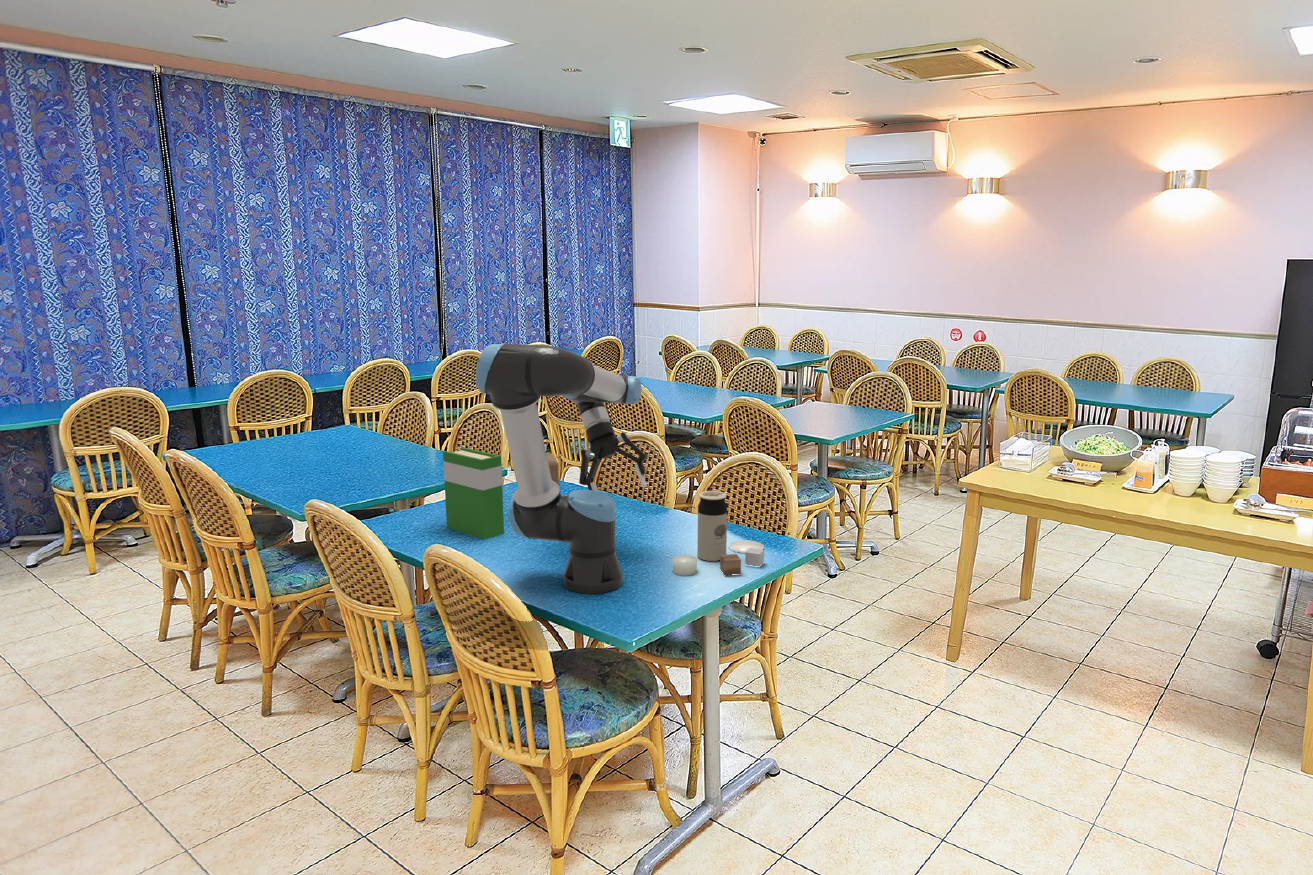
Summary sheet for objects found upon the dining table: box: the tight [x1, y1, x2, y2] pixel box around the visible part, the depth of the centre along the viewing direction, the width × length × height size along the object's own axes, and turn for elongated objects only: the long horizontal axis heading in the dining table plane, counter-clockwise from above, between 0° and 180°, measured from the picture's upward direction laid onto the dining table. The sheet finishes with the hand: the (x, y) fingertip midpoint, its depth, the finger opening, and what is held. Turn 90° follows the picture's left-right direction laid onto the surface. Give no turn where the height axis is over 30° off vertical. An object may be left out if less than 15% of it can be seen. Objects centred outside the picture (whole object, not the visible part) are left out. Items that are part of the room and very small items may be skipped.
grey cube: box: [744, 548, 765, 566], centre depth 232 cm, size 4×4×4 cm
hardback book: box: [442, 446, 505, 540], centre depth 258 cm, size 18×7×24 cm, turn 51°
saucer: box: [728, 539, 765, 554], centre depth 246 cm, size 10×10×1 cm
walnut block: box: [719, 553, 742, 576], centre depth 227 cm, size 4×4×4 cm
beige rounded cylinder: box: [672, 554, 698, 577], centre depth 228 cm, size 6×6×4 cm
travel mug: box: [696, 490, 728, 562], centre depth 237 cm, size 8×8×18 cm
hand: (622, 496), depth 237 cm, fingers open, 13 cm apart
